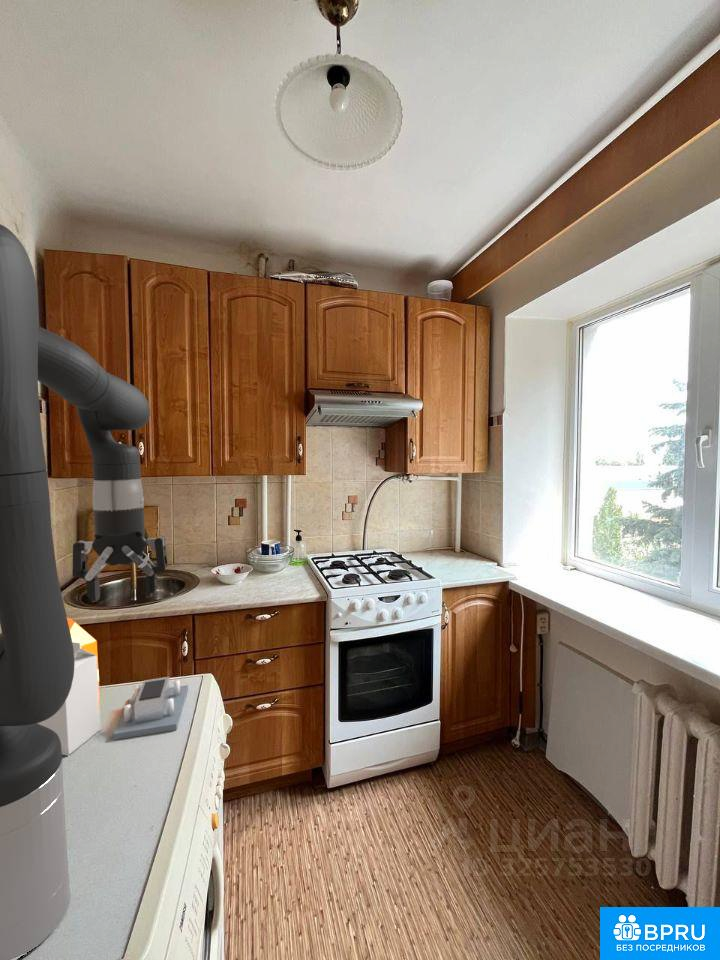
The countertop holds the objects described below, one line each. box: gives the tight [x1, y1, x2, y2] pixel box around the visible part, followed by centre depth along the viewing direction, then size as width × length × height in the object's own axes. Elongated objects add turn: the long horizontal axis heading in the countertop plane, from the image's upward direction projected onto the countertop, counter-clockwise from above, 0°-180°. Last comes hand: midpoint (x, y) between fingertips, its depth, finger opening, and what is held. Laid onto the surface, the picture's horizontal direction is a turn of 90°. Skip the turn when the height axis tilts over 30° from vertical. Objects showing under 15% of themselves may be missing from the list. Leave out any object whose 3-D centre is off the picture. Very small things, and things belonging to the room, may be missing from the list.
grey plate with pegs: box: [112, 679, 189, 741], centre depth 85 cm, size 14×11×4 cm
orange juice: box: [67, 616, 101, 709], centre depth 86 cm, size 8×9×20 cm
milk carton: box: [38, 642, 101, 756], centre depth 77 cm, size 7×7×19 cm
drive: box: [134, 676, 171, 723], centre depth 85 cm, size 9×5×4 cm, turn 17°
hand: (123, 598), depth 73 cm, fingers open, 8 cm apart
